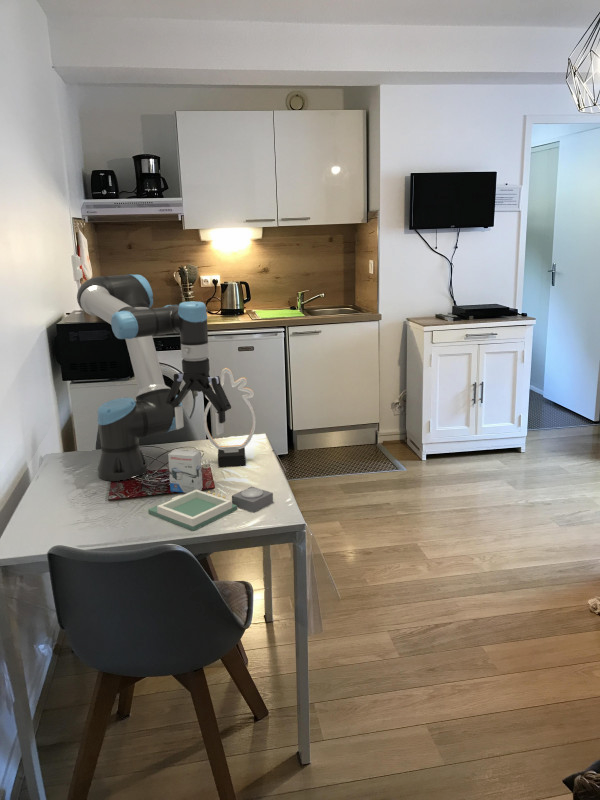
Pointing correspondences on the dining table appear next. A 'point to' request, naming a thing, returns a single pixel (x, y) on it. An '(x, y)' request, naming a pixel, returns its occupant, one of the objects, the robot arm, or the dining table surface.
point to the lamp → (234, 453)
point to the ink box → (185, 470)
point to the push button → (252, 499)
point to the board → (193, 509)
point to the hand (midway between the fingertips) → (199, 430)
